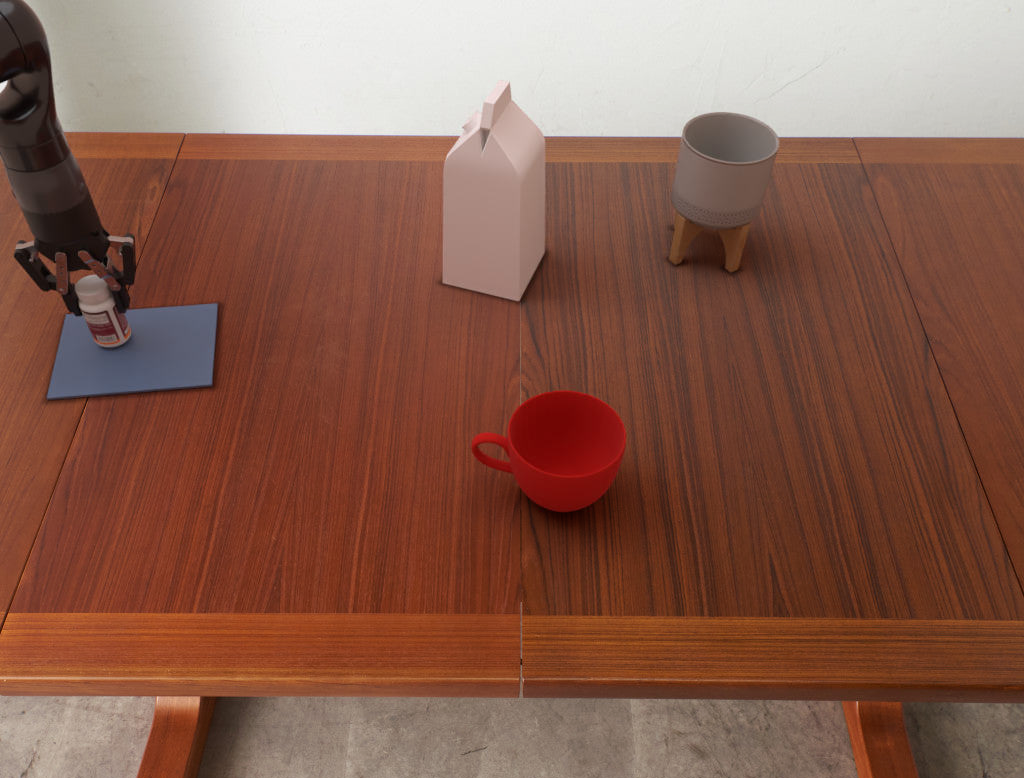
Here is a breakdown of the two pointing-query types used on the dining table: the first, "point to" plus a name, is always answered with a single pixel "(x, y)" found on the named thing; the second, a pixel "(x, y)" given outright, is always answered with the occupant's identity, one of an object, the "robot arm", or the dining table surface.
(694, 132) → the planter
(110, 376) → the cloth
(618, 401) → the dining table surface
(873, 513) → the dining table surface
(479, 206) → the milk
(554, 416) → the ceramic cup
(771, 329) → the dining table surface
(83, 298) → the pill bottle
